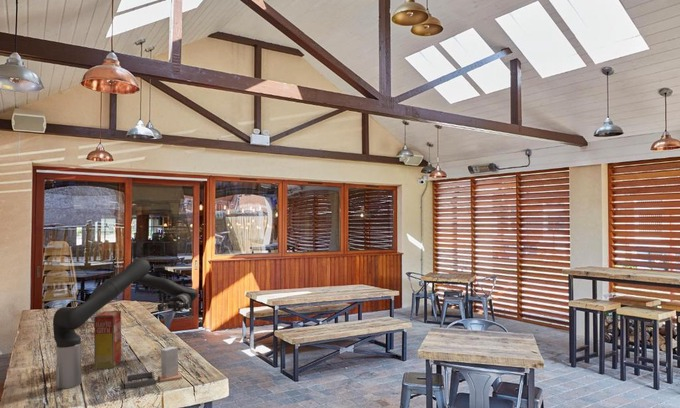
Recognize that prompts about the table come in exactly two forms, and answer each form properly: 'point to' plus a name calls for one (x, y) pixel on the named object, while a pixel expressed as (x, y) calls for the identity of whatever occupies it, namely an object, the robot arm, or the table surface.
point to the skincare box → (169, 361)
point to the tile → (170, 377)
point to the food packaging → (107, 339)
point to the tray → (138, 376)
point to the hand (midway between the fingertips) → (169, 308)
